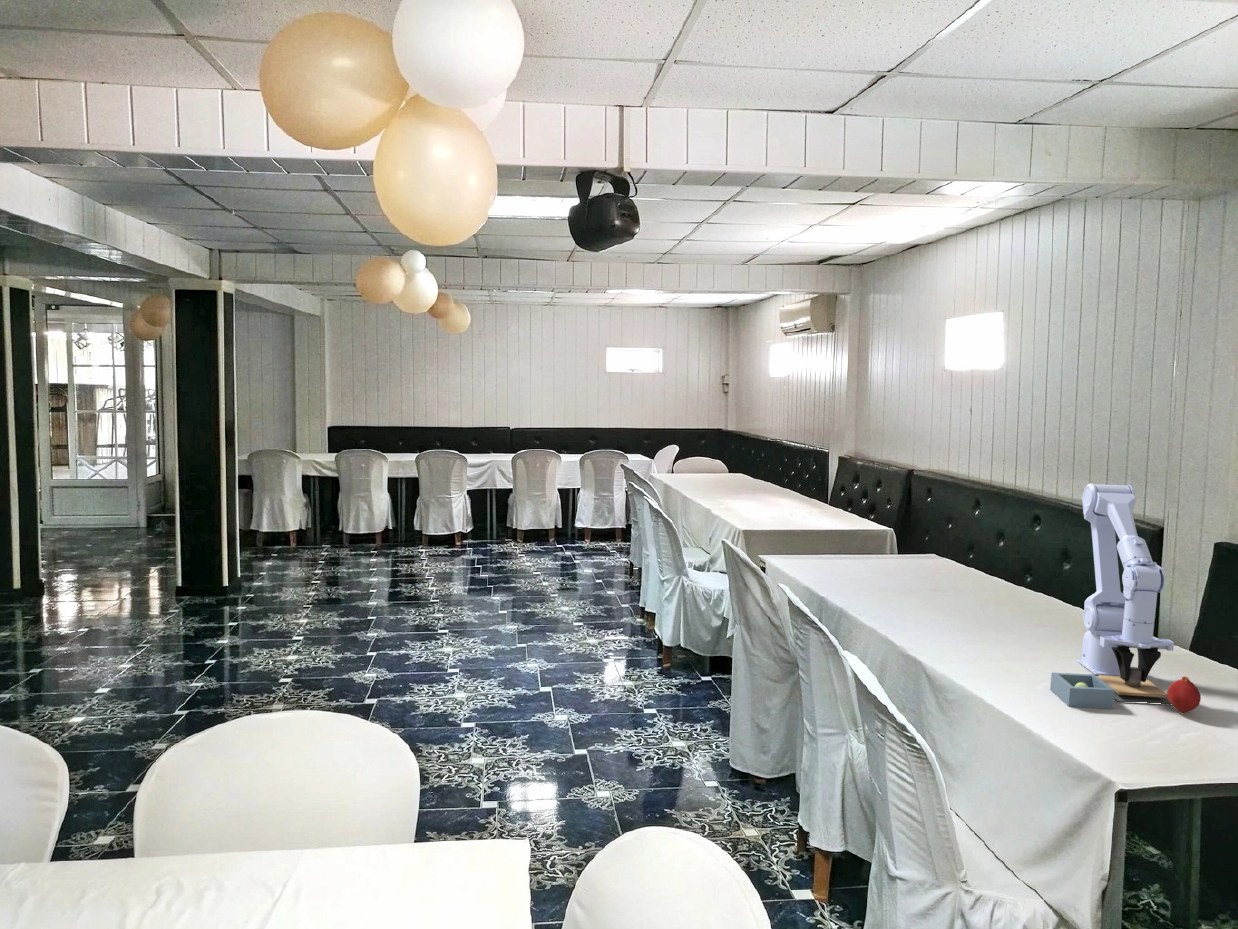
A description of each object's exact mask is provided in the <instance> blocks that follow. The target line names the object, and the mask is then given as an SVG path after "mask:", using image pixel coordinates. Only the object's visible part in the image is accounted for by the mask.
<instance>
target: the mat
mask: <svg viewBox="0 0 1238 929" xmlns="http://www.w3.org/2000/svg"><path fill="white" fill-rule="evenodd" d="M1114 700H1115V701H1114V702H1115V703H1117V702H1147V703H1161V704H1171V703H1170V702H1169V700H1168V698H1163V697H1147V696H1132V695H1119V694H1117V693H1116V692H1115V694H1114Z"/></svg>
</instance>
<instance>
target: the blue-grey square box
mask: <svg viewBox="0 0 1238 929" xmlns="http://www.w3.org/2000/svg"><path fill="white" fill-rule="evenodd" d="M1080 682H1081V683H1085V684H1086V685H1087V686H1088V687H1075V685H1076V684H1077V683H1080ZM1049 687H1050V688H1049V690H1050V691H1051V693H1053V694H1054V695H1055V696H1056V695H1057V696H1058V697H1057V696H1056V697H1057V698H1059V699H1060V700H1061V702H1063V703H1064V702H1065V703H1066V704H1067V707H1071V706H1073V707H1075V708H1092V709H1093V708H1094V709H1097V708H1098V709H1111V708H1113V709H1114V702H1115V701H1114V694H1115V690H1114V689H1113V688H1111V687H1110V686H1109V685H1107V684H1106V683H1105V682H1103V681H1102V680H1101V679H1099V678H1098V675H1095V674H1094V673H1093V674H1092V673H1091V674H1090V673H1089V674H1088V673H1069V672H1051V677H1050V686H1049ZM1065 703H1064V704H1065ZM1066 704H1065V705H1066Z"/></svg>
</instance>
